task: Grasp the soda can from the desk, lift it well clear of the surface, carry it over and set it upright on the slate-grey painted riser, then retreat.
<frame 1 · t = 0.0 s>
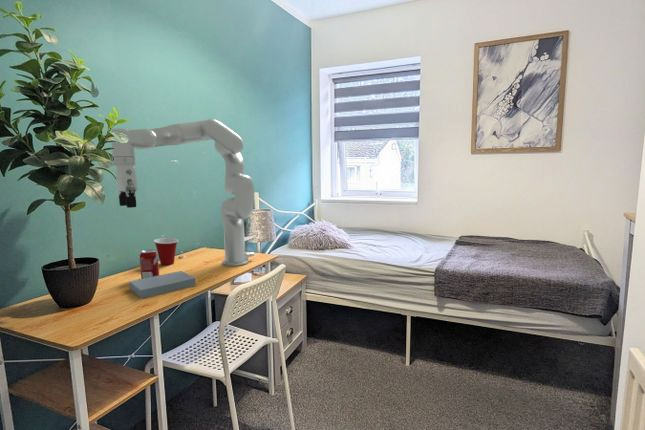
hand: (127, 206, 139), 31 cm above the table, fingers open, 9 cm apart
plastic cup: (167, 264, 173), on the table
soda can: (150, 279, 150), on the table
riser: (163, 287, 139), on the table
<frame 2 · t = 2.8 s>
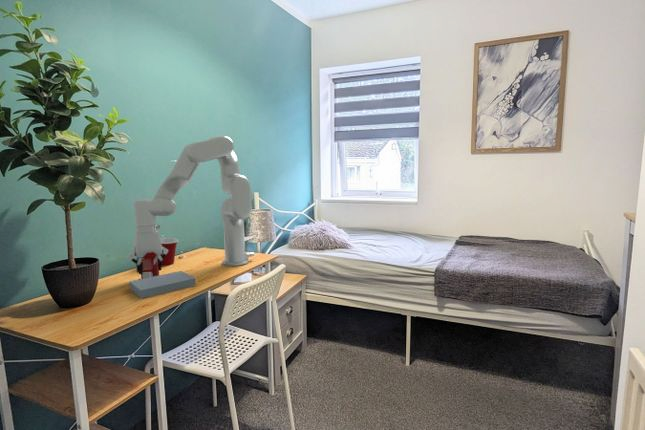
hand: (149, 271, 150), 3 cm above the table, fingers closed on soda can, 6 cm apart
soda can: (150, 279, 150), on the table, touching gripper
everything else where it was.
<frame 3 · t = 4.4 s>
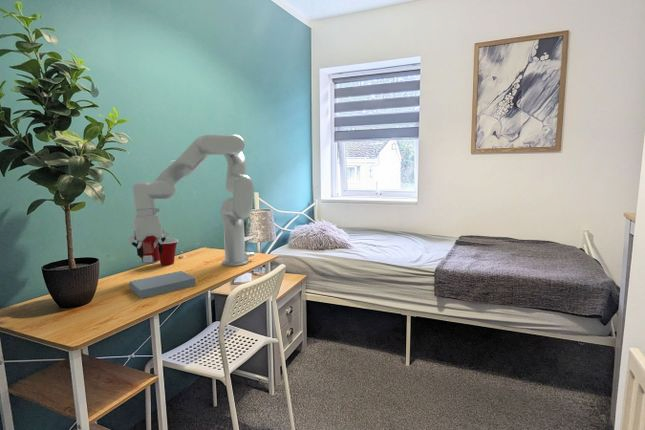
hand: (150, 254, 149), 10 cm above the table, fingers closed on soda can, 6 cm apart
soda can: (151, 263, 150), point 7 cm above the table, touching gripper
everything else where it was.
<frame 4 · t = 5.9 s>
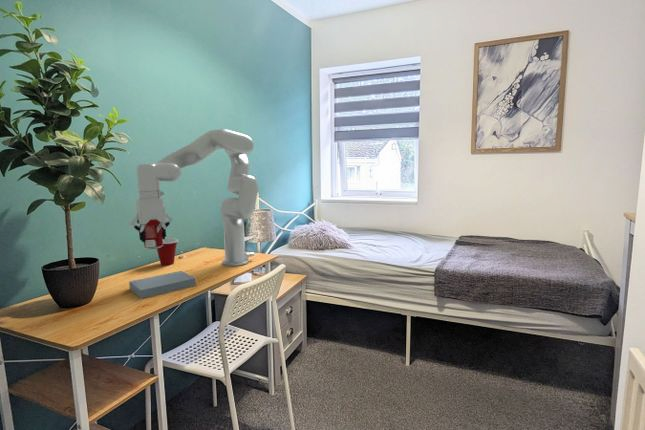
hand: (153, 239, 143), 18 cm above the table, fingers closed on soda can, 6 cm apart
soda can: (153, 248, 143), point 14 cm above the table, touching gripper
everything else where it was.
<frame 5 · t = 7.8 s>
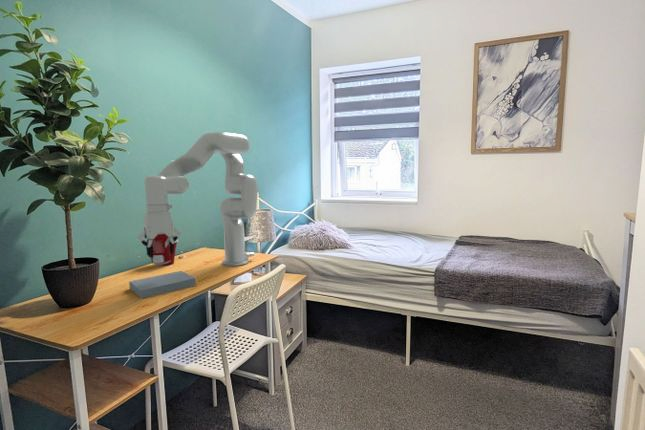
hand: (160, 254, 137), 13 cm above the table, fingers closed on soda can, 6 cm apart
soda can: (161, 263, 138), point 9 cm above the table, touching gripper
everything else where it was.
when the fingers open (8 cm above the table, at t = 9.1 s): soda can drops 2 cm, resting on riser.
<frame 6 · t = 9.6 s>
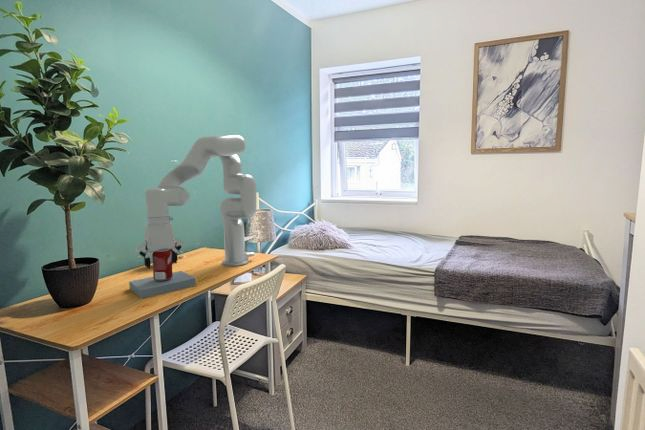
hand: (161, 265, 138), 9 cm above the table, fingers open, 9 cm apart
soda can: (163, 279, 139), point 3 cm above the table, touching riser
everything else where it was.
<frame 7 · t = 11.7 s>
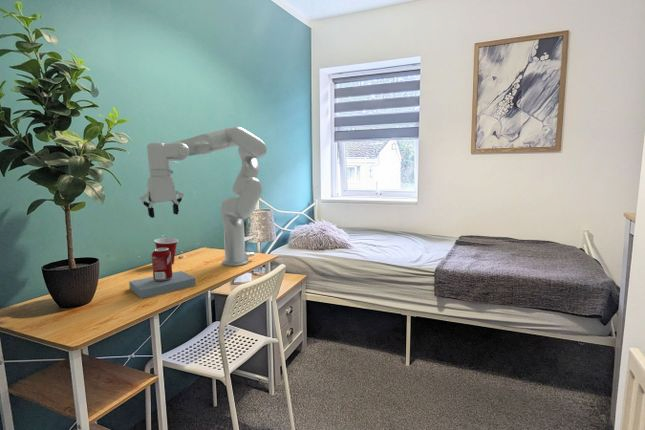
hand: (164, 215, 148), 26 cm above the table, fingers open, 9 cm apart
nothing on the table moved.
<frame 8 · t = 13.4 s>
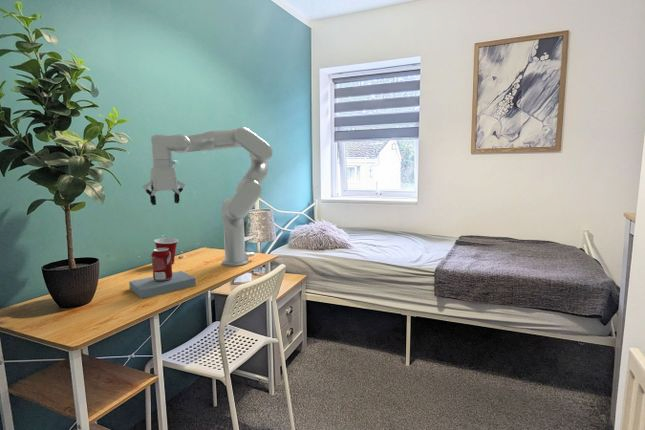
hand: (165, 203, 156), 30 cm above the table, fingers open, 9 cm apart
nothing on the table moved.
at the end: soda can inside the target area on the riser (0.2 cm from its centre), point 2.8 cm above the riser's base; soda can tilted 0°; the gripper is holding nothing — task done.
